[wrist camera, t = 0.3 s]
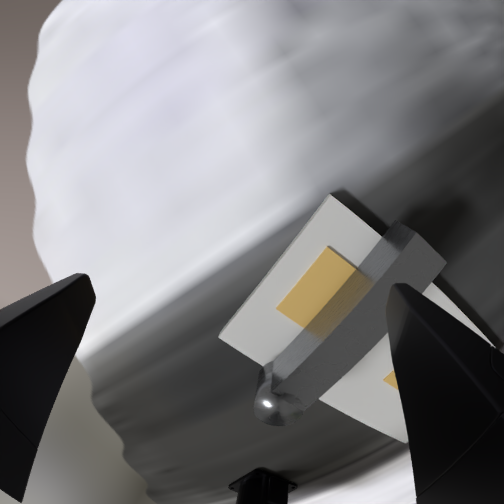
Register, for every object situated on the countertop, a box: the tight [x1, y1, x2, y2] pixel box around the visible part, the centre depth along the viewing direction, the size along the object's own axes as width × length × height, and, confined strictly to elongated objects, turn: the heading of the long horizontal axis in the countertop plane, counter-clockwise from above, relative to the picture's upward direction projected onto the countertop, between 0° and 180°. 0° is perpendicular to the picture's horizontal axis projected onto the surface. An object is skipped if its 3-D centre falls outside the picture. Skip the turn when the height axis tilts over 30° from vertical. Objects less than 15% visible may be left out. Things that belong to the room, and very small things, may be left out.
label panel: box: [219, 194, 495, 443], centre depth 24 cm, size 15×24×2 cm, turn 55°
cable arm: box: [254, 220, 447, 426], centre depth 21 cm, size 17×4×4 cm, turn 145°
